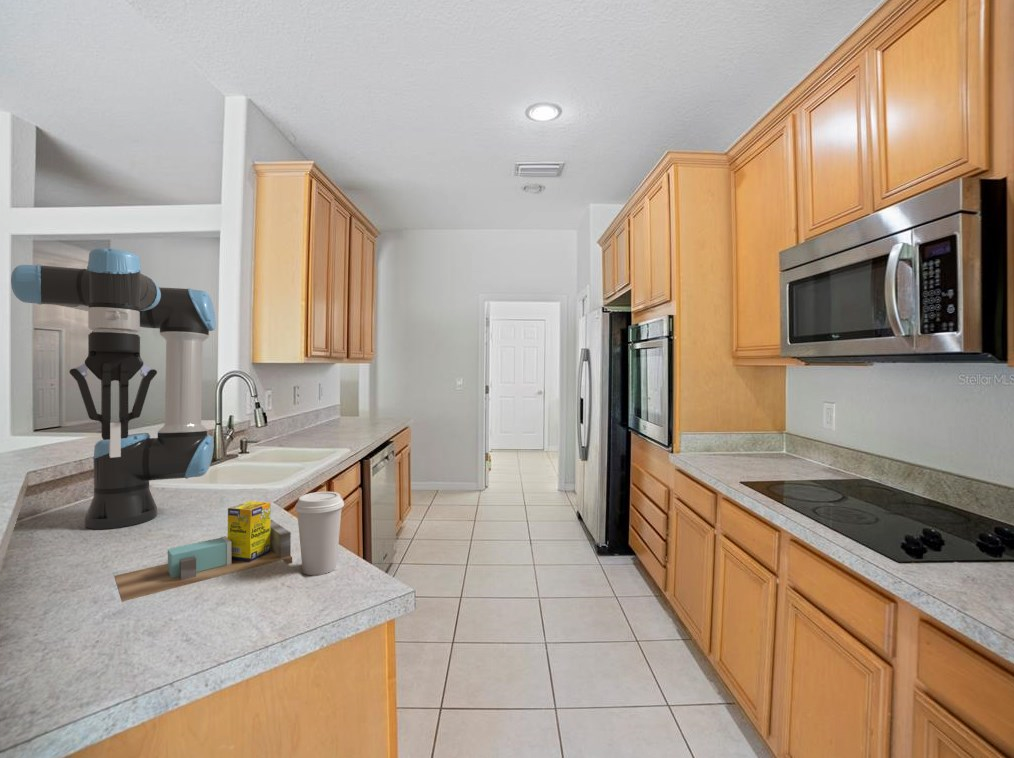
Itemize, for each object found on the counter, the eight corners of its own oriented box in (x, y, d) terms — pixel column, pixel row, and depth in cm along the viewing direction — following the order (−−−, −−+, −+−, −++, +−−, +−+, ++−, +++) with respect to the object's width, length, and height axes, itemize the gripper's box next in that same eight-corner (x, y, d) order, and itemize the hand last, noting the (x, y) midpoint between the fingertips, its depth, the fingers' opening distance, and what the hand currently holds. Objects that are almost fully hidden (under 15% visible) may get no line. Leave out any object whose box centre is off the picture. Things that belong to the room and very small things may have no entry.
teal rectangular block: (167, 571, 91) (167, 548, 91) (225, 557, 98) (225, 536, 98) (171, 579, 88) (171, 554, 88) (231, 564, 95) (231, 541, 95)
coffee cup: (295, 582, 89) (295, 505, 89) (293, 564, 98) (293, 493, 98) (347, 572, 94) (347, 499, 94) (340, 556, 102) (340, 488, 102)
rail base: (114, 581, 89) (114, 549, 89) (270, 545, 109) (270, 518, 109) (122, 608, 79) (122, 572, 79) (292, 562, 99) (292, 533, 99)
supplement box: (250, 562, 96) (250, 509, 96) (226, 559, 97) (226, 507, 97) (271, 551, 101) (271, 502, 101) (248, 549, 103) (248, 500, 103)
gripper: (68, 328, 81) (68, 463, 81) (160, 333, 90) (160, 454, 90) (67, 331, 86) (67, 457, 86) (154, 335, 95) (154, 450, 95)
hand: (114, 456), depth 88 cm, fingers closed
